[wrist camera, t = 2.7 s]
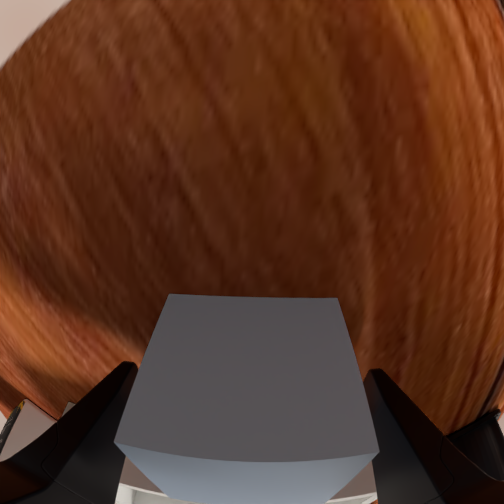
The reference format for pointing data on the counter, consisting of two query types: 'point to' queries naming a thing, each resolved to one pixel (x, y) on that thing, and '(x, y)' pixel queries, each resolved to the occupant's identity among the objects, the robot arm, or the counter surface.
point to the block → (249, 402)
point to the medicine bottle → (23, 428)
